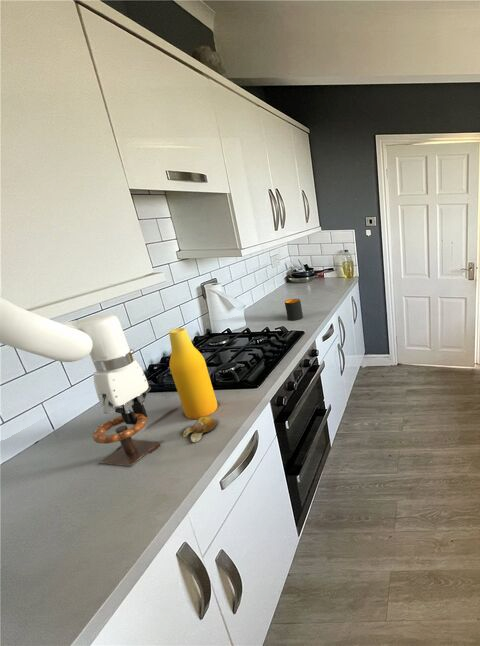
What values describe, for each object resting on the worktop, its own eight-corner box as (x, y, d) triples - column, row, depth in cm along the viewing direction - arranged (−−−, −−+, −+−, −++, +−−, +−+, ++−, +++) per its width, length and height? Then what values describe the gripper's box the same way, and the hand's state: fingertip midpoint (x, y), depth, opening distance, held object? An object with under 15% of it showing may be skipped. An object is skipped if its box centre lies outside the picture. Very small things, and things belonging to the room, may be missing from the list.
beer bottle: (187, 408, 116) (161, 328, 106) (218, 400, 120) (196, 322, 110) (184, 423, 109) (155, 338, 98) (217, 414, 113) (193, 332, 102)
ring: (82, 443, 88) (79, 436, 88) (124, 416, 99) (121, 410, 98) (119, 446, 87) (116, 440, 86) (157, 419, 97) (155, 413, 96)
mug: (302, 313, 206) (300, 296, 203) (303, 319, 196) (300, 302, 192) (288, 315, 204) (285, 298, 200) (287, 321, 193) (284, 303, 189)
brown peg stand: (102, 466, 92) (88, 438, 89) (133, 443, 100) (122, 416, 97) (131, 469, 91) (119, 440, 88) (160, 445, 99) (150, 418, 96)
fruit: (180, 434, 104) (176, 424, 102) (209, 419, 110) (206, 410, 109) (193, 444, 99) (190, 434, 98) (222, 428, 106) (219, 418, 104)
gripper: (130, 348, 98) (150, 403, 105) (67, 376, 83) (95, 438, 90) (153, 349, 97) (172, 404, 104) (94, 377, 82) (120, 440, 89)
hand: (136, 420), depth 97 cm, fingers closed on ring, 2 cm apart
